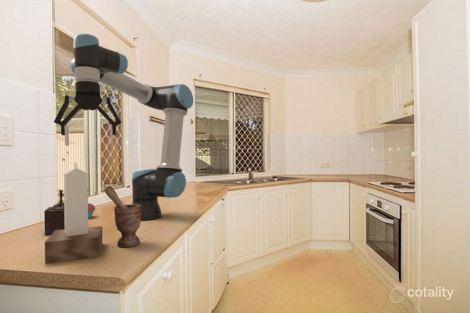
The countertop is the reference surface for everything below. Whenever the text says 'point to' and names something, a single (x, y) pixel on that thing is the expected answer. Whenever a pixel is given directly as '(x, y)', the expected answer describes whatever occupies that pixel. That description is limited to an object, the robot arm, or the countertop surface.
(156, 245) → the countertop surface
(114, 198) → the mortar and pestle
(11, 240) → the countertop surface
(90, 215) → the cupcake
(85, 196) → the milk
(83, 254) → the riser
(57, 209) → the coffee grinder
